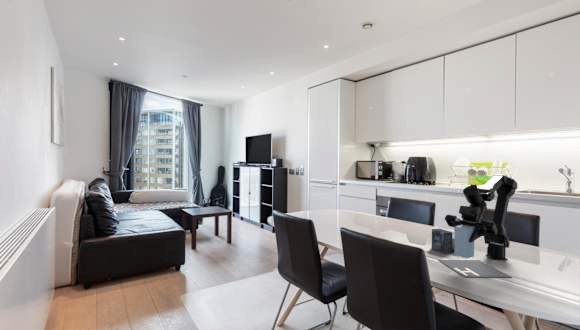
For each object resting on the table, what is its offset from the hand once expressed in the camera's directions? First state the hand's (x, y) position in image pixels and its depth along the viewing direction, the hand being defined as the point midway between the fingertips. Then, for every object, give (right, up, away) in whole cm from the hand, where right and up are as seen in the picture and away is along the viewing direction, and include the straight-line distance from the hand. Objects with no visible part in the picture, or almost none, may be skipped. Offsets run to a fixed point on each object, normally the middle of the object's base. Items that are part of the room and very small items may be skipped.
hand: (462, 240), depth 117 cm
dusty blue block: (+1, -7, +1) cm, 7 cm away
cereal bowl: (+17, -13, +34) cm, 40 cm away
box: (+7, -13, +29) cm, 32 cm away
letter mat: (+7, -13, +5) cm, 16 cm away
